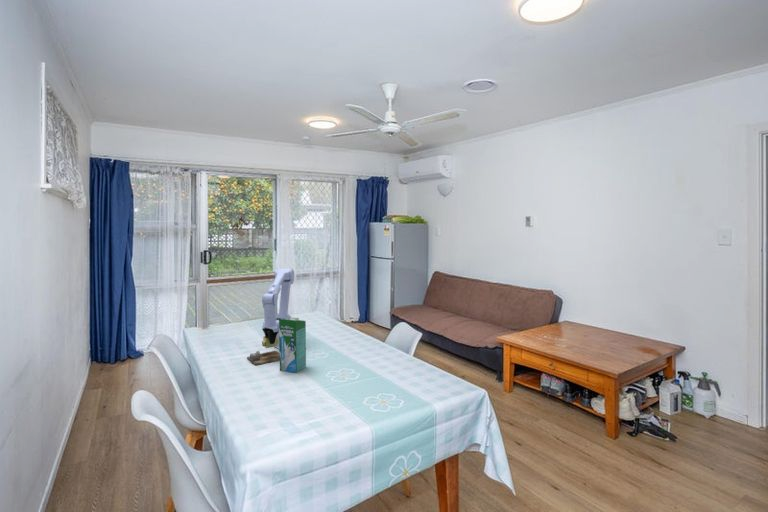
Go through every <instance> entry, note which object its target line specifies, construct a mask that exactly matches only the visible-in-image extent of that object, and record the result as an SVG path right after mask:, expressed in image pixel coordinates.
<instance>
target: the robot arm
mask: <svg viewBox="0 0 768 512" xmlns="http://www.w3.org/2000/svg"><path fill="white" fill-rule="evenodd" d="M273 274H274V281H273V283H272V284H270V285H269V288H268V289H267V292H266V293H264V294H263V295H262V297H261V302H262V307H263V318H264V321H263V322H262V325H261V327H262V331H263V334H264V336H266V335H269V341H270V344H274V343H275V339H276V337H277V339H278V344H277V346H275V347H274V348H277V349H278V350H279V319H290V317H292V316H291V315H290V314H289V303H290V302H289V301H290V292H291V291H290V290H291V285H293V284H294V281H295V269H293V268H278V267H276V268H275V270H274V273H273ZM279 294H280V299H279ZM278 299H279V308H278V313H277V304H278Z"/></svg>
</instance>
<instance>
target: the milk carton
mask: <svg viewBox="0 0 768 512" xmlns="http://www.w3.org/2000/svg"><path fill="white" fill-rule="evenodd" d="M299 318H300V317H294V316H291V317H290V319H279V349H278V350H279V351H278V352H279V353H280V361H279V371H281V372H288V373H295V374H297V373H298V372H300V371H301V370H303V369H304V368H306V367H307V341H306V340H307V339H306V338H307V334H306V332H307V331H306V326H307V325H306V321H307V320H300V319H299Z"/></svg>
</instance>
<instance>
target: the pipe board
mask: <svg viewBox="0 0 768 512" xmlns="http://www.w3.org/2000/svg"><path fill="white" fill-rule="evenodd" d="M249 354H250V355H249V356H247V357H246V359H247V361H249V362H250V363H251V364H253V365H254V366H255V367H256V366H261V365H266V364H270V363H274V362H280V352H279V351H278V350H272V351H267V352H262V353H261V352H260V351H259V350H257V351H255V352H252V353H251V352H250V353H249Z"/></svg>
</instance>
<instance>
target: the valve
mask: <svg viewBox="0 0 768 512" xmlns="http://www.w3.org/2000/svg"><path fill="white" fill-rule="evenodd" d="M262 339H263V340H262V341H261V346H262V347H264V348H265V349H269V348H276V347H275V346H277V344H278V339H277V337H276V339H275V343H274V344H270V341H269V335H266V336H265V335H264V336H263V337H262Z"/></svg>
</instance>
